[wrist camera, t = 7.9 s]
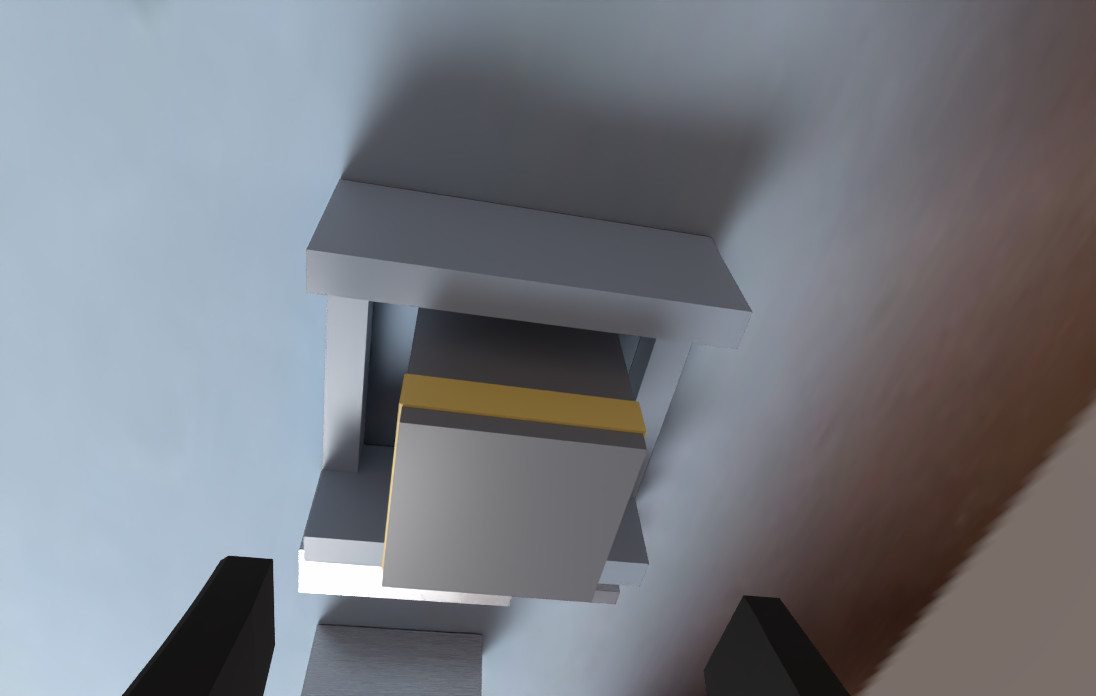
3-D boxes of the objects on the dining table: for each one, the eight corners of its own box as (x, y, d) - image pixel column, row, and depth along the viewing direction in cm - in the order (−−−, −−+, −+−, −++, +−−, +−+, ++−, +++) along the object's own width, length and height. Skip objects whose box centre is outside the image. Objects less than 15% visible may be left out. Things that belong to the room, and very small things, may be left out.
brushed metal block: (475, 662, 23) (474, 740, 21) (316, 653, 23) (298, 734, 20) (516, 489, 19) (519, 566, 17) (321, 471, 18) (299, 550, 16)
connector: (571, 433, 18) (592, 604, 14) (406, 414, 17) (378, 588, 13) (610, 293, 16) (650, 448, 12) (423, 266, 15) (396, 419, 11)
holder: (621, 492, 19) (639, 586, 17) (329, 464, 18) (303, 561, 16) (710, 237, 15) (752, 312, 13) (339, 178, 14) (306, 249, 12)
